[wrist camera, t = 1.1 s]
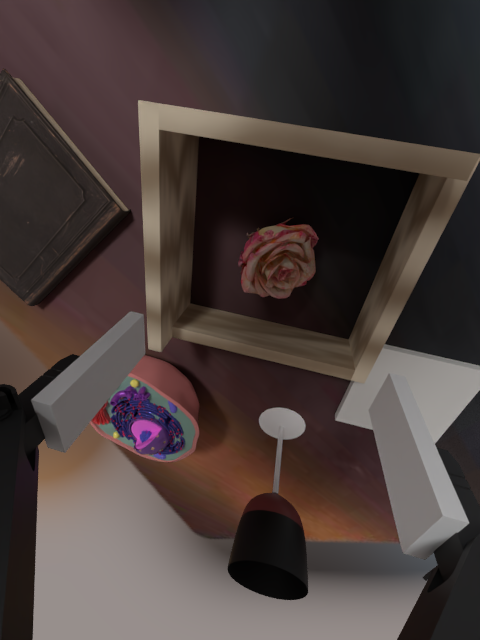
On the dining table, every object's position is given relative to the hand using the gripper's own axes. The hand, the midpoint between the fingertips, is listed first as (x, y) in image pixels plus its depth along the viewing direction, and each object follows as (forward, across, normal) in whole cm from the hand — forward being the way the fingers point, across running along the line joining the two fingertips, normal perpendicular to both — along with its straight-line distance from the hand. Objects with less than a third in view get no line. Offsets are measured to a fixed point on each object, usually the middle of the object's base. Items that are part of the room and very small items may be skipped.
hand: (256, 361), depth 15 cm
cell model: (+20, -15, -25) cm, 35 cm away
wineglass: (+20, +6, -28) cm, 35 cm away
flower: (+20, 0, 0) cm, 20 cm away
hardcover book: (+20, -32, -1) cm, 38 cm away
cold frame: (+20, 0, 0) cm, 20 cm away
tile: (+20, +20, -16) cm, 32 cm away
